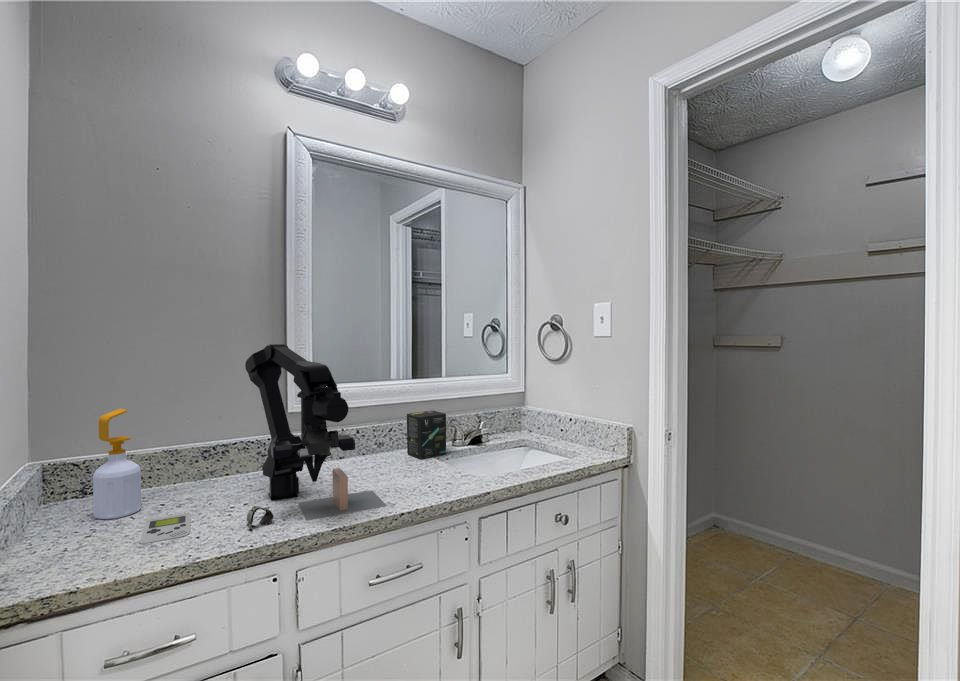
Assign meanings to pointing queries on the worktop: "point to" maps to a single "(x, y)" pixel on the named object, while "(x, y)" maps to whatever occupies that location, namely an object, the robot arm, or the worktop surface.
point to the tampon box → (426, 434)
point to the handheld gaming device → (165, 528)
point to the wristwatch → (265, 519)
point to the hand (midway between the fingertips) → (314, 481)
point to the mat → (329, 508)
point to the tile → (340, 489)
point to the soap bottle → (116, 477)
